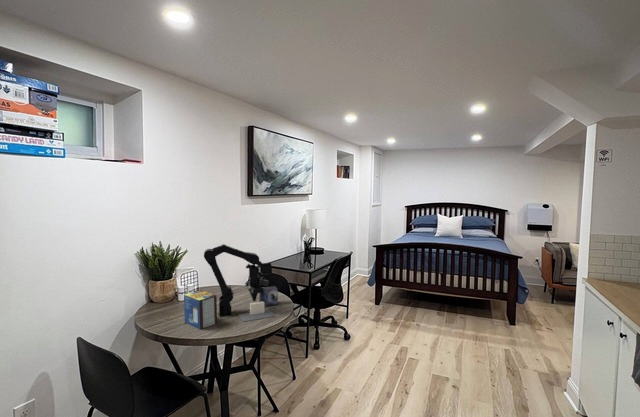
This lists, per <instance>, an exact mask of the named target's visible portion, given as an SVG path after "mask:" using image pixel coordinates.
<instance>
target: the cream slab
mask: <svg viewBox="0 0 640 417" xmlns="http://www.w3.org/2000/svg"><path fill="white" fill-rule="evenodd" d="M264 310H265V306H264V302H259V301H255V302H250V303H249V313H250V314H251V315H253V314H259V313H265V311H264Z"/></svg>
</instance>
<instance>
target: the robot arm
mask: <svg viewBox="0 0 640 417" xmlns="http://www.w3.org/2000/svg"><path fill="white" fill-rule="evenodd" d="M222 253H226V254H228V255H231V256H234V257H237V258H240V259H243V260H244V261H247V262H248V263H247V265H246V266H245V269H248V277H247V278H248V280H247V281H246V282H245V283H244V287H245V288H247V290H248V292H249V295H250V297H251V299H252V301H253V302H257V301H256V300H257V297H258V295H259V293H263V292H264V289H263V288H262V286H263V287H269V286H268V285H269V282H270V281H269V280H267V279H266V278H265V277H264V276H260V274H261V275H271V274H272V273H273V269H272V262H262V261H261V260H260V257H259V255H258V254H257V253H255V252H247V251H243V250H240V249H238V248H234V247H232V246H229V245H227V244H224V243H223V244H221V245H218V246H216V247H213V248H207V249H205V250H204V252H203V258H204V260H205V261H206V262H207V264H208V265H209V266H210V268H211V270H212V272H213V275H214V276H215V279H216V281H217V283H218V286H219V288H220V292H221V296H220V297H219V298H218V304H217V305H218V306H217V315H218V316H219V317H227V316H231V315H232V304H231V302H232V301H233V300H234V295H235V293H234V289H233V290H232V286H231V285H228V284H227V282H226V279H225V278H224V276H223V274H222V272H221V269H220V268H219V265H218V262H217V256H219V255H221V254H222ZM248 287H249V288H248Z"/></svg>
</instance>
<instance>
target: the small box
mask: <svg viewBox="0 0 640 417" xmlns="http://www.w3.org/2000/svg"><path fill="white" fill-rule="evenodd" d="M261 287H262V286H261ZM262 288H263V289H264V292H263V293H258V295H259V301H258V302H264V307H269V306H270V307H272V306H278V305H279V303H278V301H279V300H278V299H279V293H278V292H279V291H278V290H279V288H278V287H277V286H275V285H272V286H267V287H266V286H263V287H262Z"/></svg>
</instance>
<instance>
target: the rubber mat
mask: <svg viewBox="0 0 640 417" xmlns="http://www.w3.org/2000/svg"><path fill="white" fill-rule="evenodd" d="M264 311H265V313H259V314H253V315H251V314H250V312H244V313H240V314H238V316H239V318H240V319H241V320H242V321H243V323H247V322H252V321H258V320H264V319H269V318H276V315H275V314H274V313H273V311H272V310H270V309H264Z"/></svg>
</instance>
